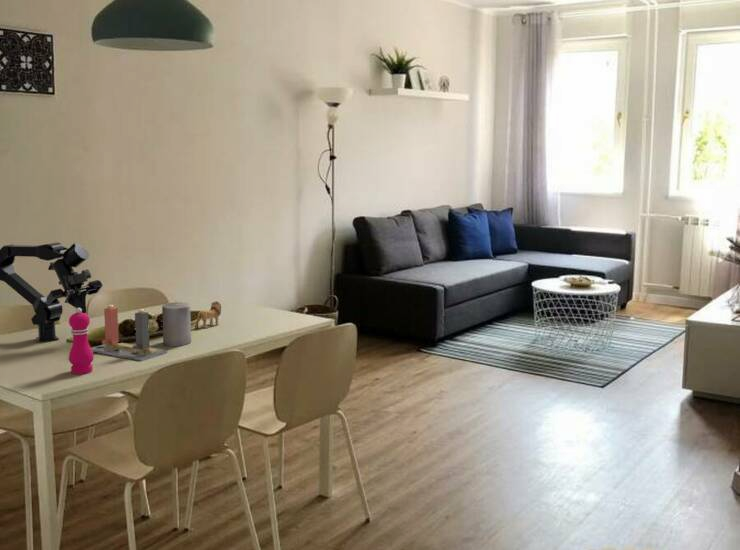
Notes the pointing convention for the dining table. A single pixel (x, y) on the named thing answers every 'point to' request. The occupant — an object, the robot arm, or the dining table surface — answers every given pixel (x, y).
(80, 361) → the pepper mill
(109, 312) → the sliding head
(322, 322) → the dining table surface
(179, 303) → the pillar candle
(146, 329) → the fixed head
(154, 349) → the bolt plate
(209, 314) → the lion figurine
